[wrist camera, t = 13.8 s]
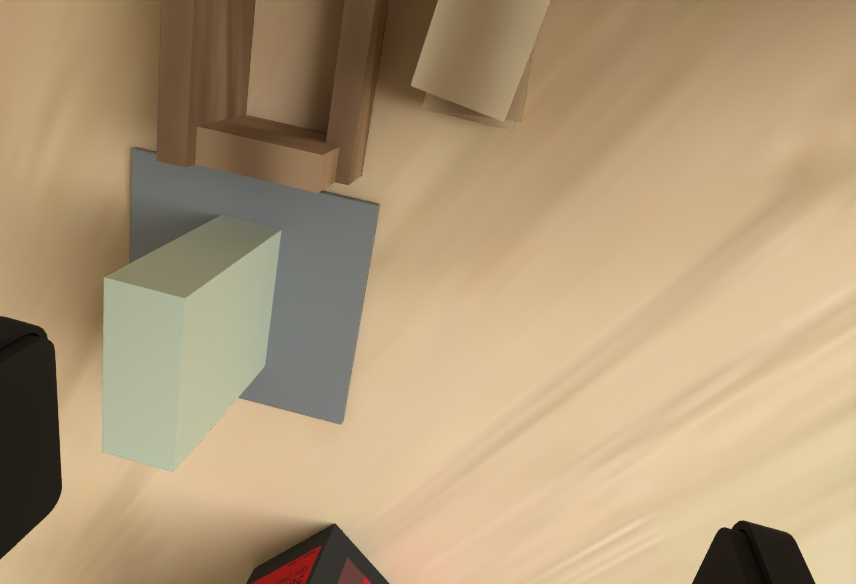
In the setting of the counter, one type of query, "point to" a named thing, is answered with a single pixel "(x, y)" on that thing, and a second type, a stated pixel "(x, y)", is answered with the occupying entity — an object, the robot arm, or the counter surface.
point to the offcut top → (479, 52)
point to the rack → (228, 88)
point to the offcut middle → (513, 113)
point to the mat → (295, 277)
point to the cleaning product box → (319, 563)
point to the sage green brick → (185, 338)
